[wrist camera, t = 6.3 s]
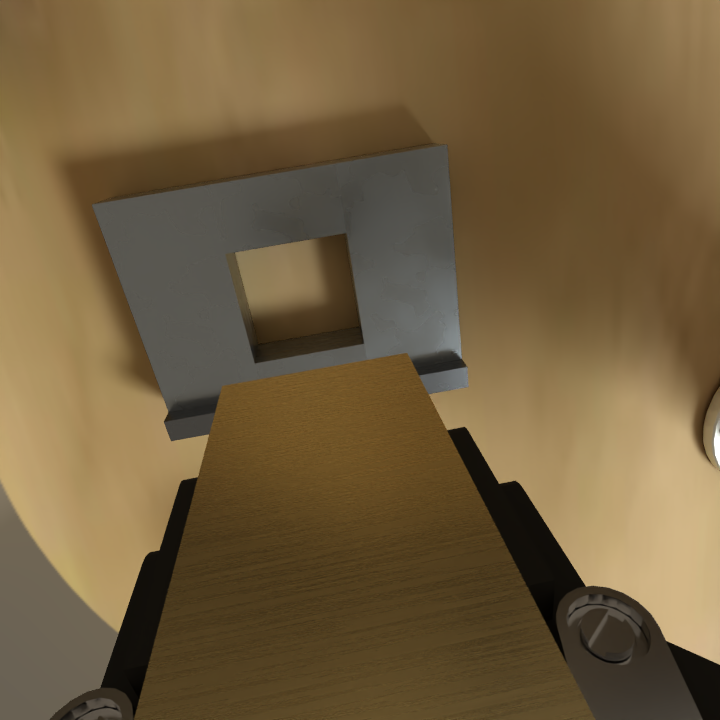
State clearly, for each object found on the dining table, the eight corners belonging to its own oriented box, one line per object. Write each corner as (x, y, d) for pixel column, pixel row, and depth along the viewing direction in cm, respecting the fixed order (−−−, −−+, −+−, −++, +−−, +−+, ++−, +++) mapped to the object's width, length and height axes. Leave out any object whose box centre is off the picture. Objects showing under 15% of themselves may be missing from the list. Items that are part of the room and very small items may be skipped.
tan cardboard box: (407, 352, 12) (662, 848, 4) (421, 495, 14) (610, 1026, 6) (222, 386, 12) (61, 993, 3) (263, 526, 13) (222, 1126, 5)
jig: (434, 143, 25) (453, 145, 21) (451, 359, 30) (468, 386, 26) (111, 197, 24) (82, 207, 21) (185, 407, 29) (171, 441, 26)
